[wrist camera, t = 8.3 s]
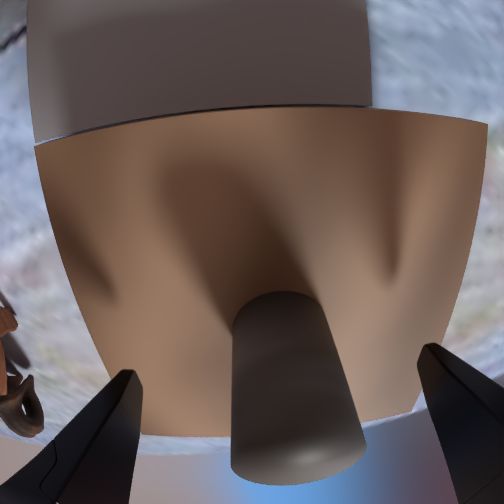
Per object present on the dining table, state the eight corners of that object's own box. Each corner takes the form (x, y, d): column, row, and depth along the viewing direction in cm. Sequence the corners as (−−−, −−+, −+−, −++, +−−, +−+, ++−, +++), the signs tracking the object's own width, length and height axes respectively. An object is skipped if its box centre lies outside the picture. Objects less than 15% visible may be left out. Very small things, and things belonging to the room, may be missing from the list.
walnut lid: (470, 119, 8) (609, 168, 3) (405, 397, 15) (440, 488, 9) (50, 140, 8) (-92, 205, 3) (145, 419, 15) (126, 518, 9)
